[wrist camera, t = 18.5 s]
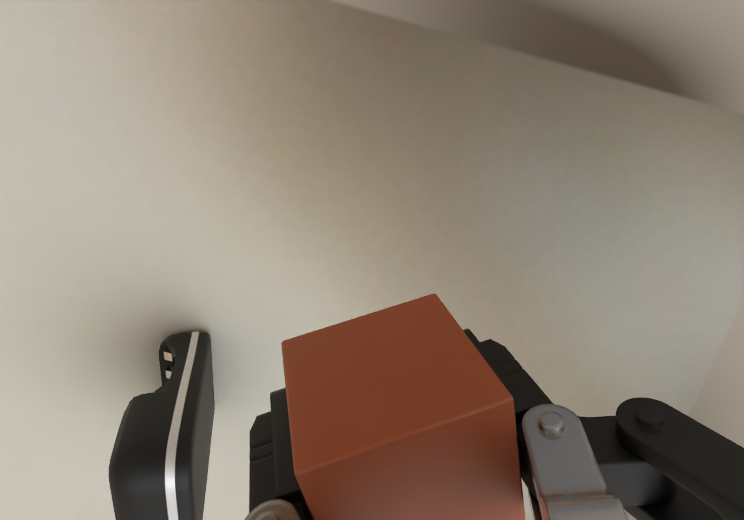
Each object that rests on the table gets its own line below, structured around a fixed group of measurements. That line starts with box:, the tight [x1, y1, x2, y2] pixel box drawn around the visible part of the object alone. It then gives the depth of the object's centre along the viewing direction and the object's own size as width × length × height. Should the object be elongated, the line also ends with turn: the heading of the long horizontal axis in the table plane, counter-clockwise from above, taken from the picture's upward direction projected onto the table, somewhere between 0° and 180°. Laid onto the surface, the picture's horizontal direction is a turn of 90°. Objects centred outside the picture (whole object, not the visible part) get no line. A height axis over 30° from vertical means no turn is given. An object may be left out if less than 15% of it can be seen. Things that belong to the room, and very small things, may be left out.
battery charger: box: [109, 331, 215, 520], centre depth 26 cm, size 7×4×11 cm, turn 175°
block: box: [282, 294, 525, 520], centre depth 12 cm, size 5×5×5 cm
